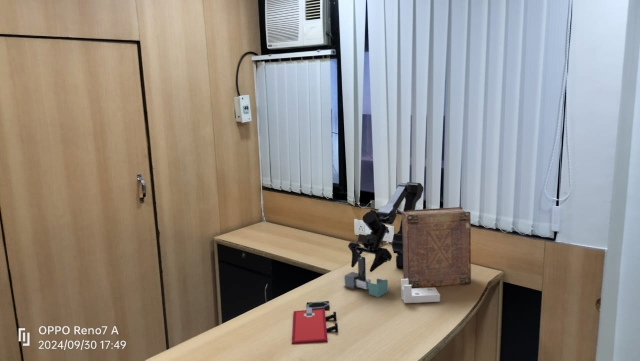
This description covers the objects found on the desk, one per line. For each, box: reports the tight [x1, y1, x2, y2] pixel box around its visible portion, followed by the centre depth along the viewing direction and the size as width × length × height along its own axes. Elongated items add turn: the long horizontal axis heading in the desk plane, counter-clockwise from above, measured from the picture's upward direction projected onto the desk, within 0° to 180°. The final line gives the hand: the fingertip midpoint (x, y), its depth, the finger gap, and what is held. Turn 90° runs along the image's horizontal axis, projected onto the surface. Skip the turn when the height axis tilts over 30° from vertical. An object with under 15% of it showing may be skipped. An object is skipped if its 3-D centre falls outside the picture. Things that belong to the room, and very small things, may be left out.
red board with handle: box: [291, 300, 339, 345], centre depth 163 cm, size 30×3×15 cm
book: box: [401, 206, 472, 289], centre depth 191 cm, size 25×9×30 cm, turn 94°
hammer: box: [343, 256, 372, 290], centre depth 191 cm, size 12×3×12 cm, turn 48°
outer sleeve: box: [344, 271, 359, 290], centre depth 193 cm, size 4×5×5 cm
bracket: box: [400, 278, 441, 304], centre depth 176 cm, size 13×7×8 cm, turn 90°
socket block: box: [368, 278, 389, 298], centre depth 185 cm, size 4×6×5 cm
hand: (361, 269), depth 188 cm, fingers open, 9 cm apart
